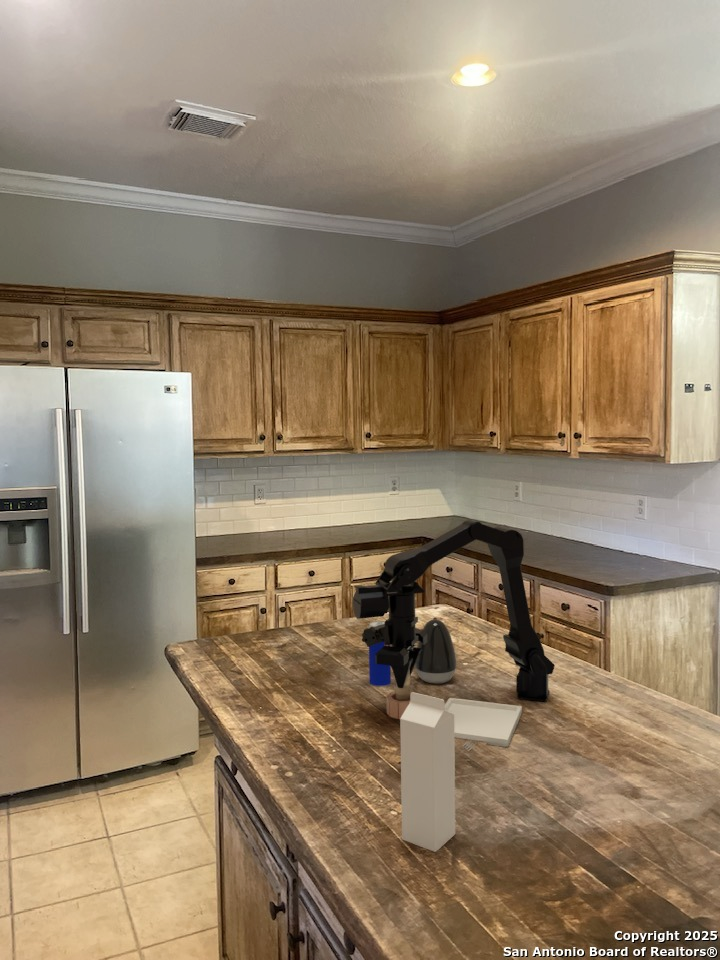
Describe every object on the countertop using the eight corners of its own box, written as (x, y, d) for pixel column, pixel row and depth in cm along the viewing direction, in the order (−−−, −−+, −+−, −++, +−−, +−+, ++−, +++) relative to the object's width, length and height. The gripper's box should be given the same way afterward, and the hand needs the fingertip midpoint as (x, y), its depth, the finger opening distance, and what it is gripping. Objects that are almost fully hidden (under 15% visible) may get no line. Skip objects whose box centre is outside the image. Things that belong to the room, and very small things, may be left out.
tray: (521, 713, 159) (521, 706, 158) (507, 747, 142) (507, 739, 142) (449, 704, 164) (449, 697, 164) (427, 736, 148) (427, 728, 147)
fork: (395, 762, 137) (395, 752, 137) (470, 748, 143) (470, 738, 142) (400, 768, 135) (400, 758, 134) (477, 753, 140) (477, 743, 140)
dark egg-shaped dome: (456, 673, 184) (455, 614, 183) (457, 688, 174) (456, 625, 173) (415, 673, 185) (414, 614, 184) (414, 687, 175) (413, 625, 174)
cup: (423, 710, 161) (423, 692, 161) (414, 723, 154) (413, 704, 154) (393, 706, 163) (393, 689, 163) (382, 719, 157) (382, 700, 156)
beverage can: (388, 688, 175) (388, 627, 173) (367, 687, 176) (366, 626, 175) (392, 681, 180) (391, 621, 179) (371, 680, 181) (370, 620, 180)
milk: (422, 822, 116) (420, 685, 114) (456, 834, 112) (455, 693, 111) (401, 840, 111) (399, 697, 109) (435, 853, 107) (434, 705, 106)
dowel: (411, 706, 160) (411, 656, 159) (407, 711, 157) (407, 660, 156) (398, 704, 161) (398, 655, 160) (394, 709, 158) (393, 659, 157)
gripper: (380, 601, 169) (381, 668, 170) (351, 622, 151) (352, 696, 152) (427, 605, 165) (428, 672, 166) (402, 626, 147) (403, 702, 148)
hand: (402, 685), depth 158 cm, fingers closed on dowel, 3 cm apart
